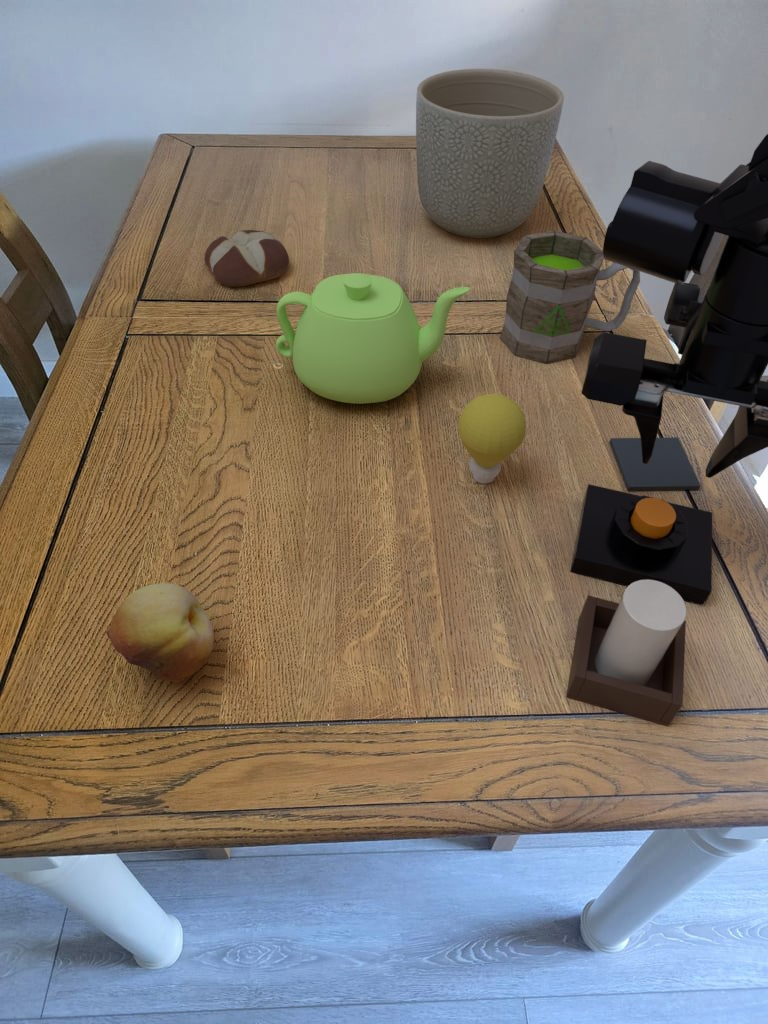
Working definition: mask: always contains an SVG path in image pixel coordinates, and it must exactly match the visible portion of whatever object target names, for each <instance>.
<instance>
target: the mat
mask: <svg viewBox="0 0 768 1024" xmlns="http://www.w3.org/2000/svg"><path fill="white" fill-rule="evenodd" d="M608 443H609V445H610V447H611V450H612V453H613V457H614V459H615V461H616V463H617V467H618V469H619V471H620V474H621V477H622V479H623V482H624V485H625V488H626V491H627V492H637V491H638V492H639V491H641V492H643V491H645V492H646V491H699V490H700V489H701V487H702V486H701V483H700V481H699V479H698V477H697V474H696V472H695V470H694V468H693V466H692V464H691V462H690V460H689V458H688V456H687V453H686V452H685V450H684V447H683V445H682V444H681V441H680V439H679V437H678V436H676V437H675V436H674V437H673V436H672V437H656V441H655V445H654V449H653V453H652V456H651V458H650V460H649V462H648V463H647V464H644V463H643V462H642V449H641V438H640V437H611V438H610V439H609V441H608Z"/></svg>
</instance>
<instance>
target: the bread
mask: <svg viewBox="0 0 768 1024" xmlns="http://www.w3.org/2000/svg"><path fill="white" fill-rule="evenodd" d="M204 263H205V265H206V268H207V269H208V270H209V271H210V272H211V273H212V275H213V277H214V278H215V279H216V280H217V281H218V282H219V283H221V284H222V285H224V286H227V287H235V288H236V287H237V288H238V287H239V288H240V287H246V286H251V285H254V284H258V283H262V282H266V281H270V280H274V279H277V278H280V277H283V275H284V274H285V273H286V272H287V270H288V268H289V264H290V257H289V254H288V250H287V249H286V248H285V246H284V245H283V243H282V242H281V241H279V240H277V239H276V237H275V236H274V235H272V233H269V232H267V231H263V230H254V229H242V230H238V231H237V232H235V234H234V235H233V236H232V238H230V237H228V236H225V235H221V236H219V237H217V238H216V239H215V240H213V241H212V242H211V243H210V244H209V245H208V247H207V248H206V250H205V253H204Z"/></svg>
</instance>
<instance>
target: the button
mask: <svg viewBox="0 0 768 1024" xmlns="http://www.w3.org/2000/svg"><path fill="white" fill-rule="evenodd" d="M657 498H658V497H653V498H645V499H642V500H640V501H639V502H638V503H637V505H636V507H635V509H634V512H633V514H632V517H631V524H632V527H633V528H634V529H635V531H637V532H638V533H640V534H641V535H643V536H645V537H649V538H653V539H659V538H663V537H665V536H667V535H668V534H669V532H670V530H671V528H672V526H673V524H674V522H675V520H676V513H675V510H674V509H673V507H672V506H671V505H670V504H668V503H667V502H668V501H666V500H664V499H662V498H658V499H657ZM661 499H662V500H661ZM663 500H664V501H663ZM665 501H666V502H665Z"/></svg>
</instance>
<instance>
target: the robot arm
mask: <svg viewBox="0 0 768 1024" xmlns="http://www.w3.org/2000/svg"><path fill="white" fill-rule="evenodd" d="M724 235H725V236H728V237H727V239H726V242H725V244H724V246H723V250H722V252H721V254H720V257H719V259H718V262H717V264H716V267H715V269H714V272H713V274H712V278H711V280H710V282H709V285H708V287H707V290H706V293H705V295H702V294H700V293H701V288H700V287H699V285H698V284H697V283H696V284H695V283H691V282H690V283H689V282H687V279H688V278H689V275H690V274H691V273H693V274H695V275H699V276H702V275H704V274H705V272H706V271H707V269H708V268H709V267H710V265H711V263H712V262H713V260H714V258H715V256H716V253H717V252H718V250H719V247H720V246H721V243H722V241H723V238H724ZM602 251H603V257H604V261H608V262H612V263H617V264H620V265H623V266H626V267H629V268H632V269H635V270H638V271H640V273H643V274H647V275H650V276H653V277H656V278H658V279H661V280H664V281H668V282H670V283H673V288H672V290H671V293H670V296H669V299H668V302H667V305H666V309H665V311H664V316H663V320H664V323H665V324H666V325H669V326H675V327H680V328H683V331H682V335H681V338H680V340H679V344H678V348H677V354H678V355H681V357H680V360H679V362H678V363H677V362H676V363H672V362H671V363H670V362H666V361H660V360H655V359H650V358H646V357H645V355H646V348H647V339H643V338H638V337H632V336H628V335H621V334H618V333H617V334H616V333H610V332H606V331H603V332H601V333H600V334H598V335H597V336H595V337H594V338H593V341H592V344H591V345H592V346H591V348H590V353H589V356H588V361H587V365H586V369H585V375H584V379H583V383H582V388H581V395H582V396H584V398H586V400H590V401H596V402H601V403H606V404H610V405H616V406H619V407H621V411H622V412H623V413H624V414H625V415H627V416H630V417H633V418H634V421H635V424H636V426H637V430H638V433H639V438H641V449H642V462H643V463H644V464H647V463H648V462H649V460H650V458H651V456H652V453H653V449H654V445H655V441H656V438H658V432H659V428H660V425H661V420H662V414H663V403H664V395H665V393H668V392H669V393H673V394H676V395H677V394H679V395H683V396H688V397H693V398H698V399H703V400H707V401H713V402H714V401H715V402H718V403H722V404H723V403H724V404H729V405H734V406H738V408H737V410H736V414H735V415H734V417H733V419H732V421H731V422H730V424H729V426H728V427H727V429H726V431H725V432H724V434H723V435H722V437H721V439H720V441H718V444H717V445H716V447H715V449H714V450H713V452H712V454H711V455H710V458H709V460H708V463H707V465H706V468H705V477H706V478H709V479H711V478H713V477H715V476H716V475H718V474H720V473H721V472H722V471H724V470H726V469H727V468H729V467H731V466H733V465H735V464H736V463H738V462H739V461H741V460H742V459H745V458H747V457H749V456H752V455H754V454H756V453H757V452H760V451H762V450H764V449H766V448H768V375H764V374H765V371H766V369H767V367H768V133H767V134H765V136H764V137H763V139H761V141H760V143H759V144H757V146H756V148H755V150H754V151H753V154H752V156H751V159H750V161H749V162H747V163H746V164H739V165H738V166H737V167H736V168H735V169H734V170H733V171H732V172H730V173H729V175H728V176H727V177H725V178H724V179H723V180H722V181H721V182H716V181H713V180H709V179H705V178H702V177H698V176H694V175H691V174H687V173H685V172H680V171H677V170H673V169H672V168H671V167H669V166H667V165H665V164H662V163H660V162H655V161H651V160H647V161H646V162H645V163H643V164H642V165H641V166H639V167H638V168H637V169H636V170H634V172H633V175H632V179H631V183H630V187H629V188H628V189H627V191H626V192H625V194H624V195H623V197H622V199H621V201H620V203H619V205H618V206H617V210H616V211H615V214H614V216H613V219H612V220H611V221H610V222H609V223H608V225H607V228H606V231H605V234H604V240H603V245H602ZM629 268H628V269H629Z"/></svg>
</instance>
